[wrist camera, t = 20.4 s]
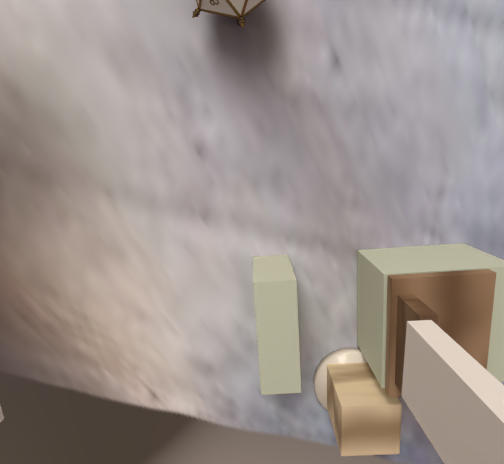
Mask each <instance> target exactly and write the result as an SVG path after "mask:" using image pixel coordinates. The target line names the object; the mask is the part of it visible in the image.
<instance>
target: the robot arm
mask: <svg viewBox="0 0 504 464" xmlns="http://www.w3.org/2000/svg"><path fill="white" fill-rule="evenodd" d="M402 398H403V399H404V401H405V403H406V404H407V406H408V407H409V409H410V410H411V412H412V414H413V415H414V417H415V418H416V420H417V421H418V423H419V425H420V426H421V428H422V429H423V431H424V432H425V434H426V436H427V437H428V439H429V440H430V442H431V443H432V445H433V447H434V448H435V450H436V451H437V453H438V454H439V456H440V458H441V459H442V461H443V462H444V464H504V385H502V384H501V383H500V382H499V381H498V380H497V379H496V378H495V377H494V376H493V375H491V374H490V373H489V372H488V371H487V370H486V369H485V368H484V367H483V366H482V365H480V364H479V363H478V362H477V361H476V360H475V359H474V358H473V357H472V356H471V355H469V354H468V353H467V352H466V351H465V350H464V349H463V348H462V347H461V346H460V345H458V344H457V343H456V342H455V341H454V340H453V339H452V338H451V337H450V336H449V335H448V334H446V333H445V332H444V331H443V330H442V329H441V328H440V327H439V326H438V325H437V324H435V323H434V322H433V321H432V320H419V321H407V327H406V341H405V355H404V369H403V383H402ZM3 419H4V416H3V413H2V409H1V405H0V422H1V421H2V420H3Z"/></svg>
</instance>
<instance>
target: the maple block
mask: <svg viewBox="0 0 504 464" xmlns="http://www.w3.org/2000/svg"><path fill="white" fill-rule="evenodd" d="M327 409H328V412H329V415H330V419H331V422H332V426H333V429H334V433H335V436H336V439H337V443H338V446H339V450H340V453H341V456H359V455H384V454H399V449H400V430H401V410H402V404H401V402H400V401H399V399H398V397H389V396H388V395H387V393H386V391H385V388H381V386H380V384H379V382H378V380H377V379H376V377H375V375H374V373H373V371H372V370H371V368H370V366H369V364H368V362H365V363H343V364H327Z"/></svg>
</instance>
